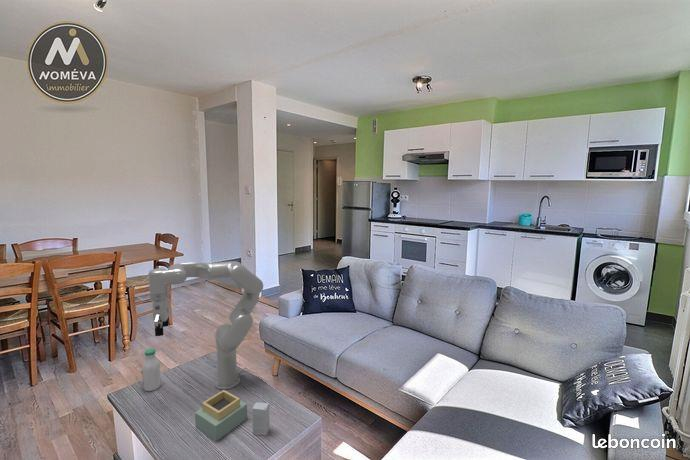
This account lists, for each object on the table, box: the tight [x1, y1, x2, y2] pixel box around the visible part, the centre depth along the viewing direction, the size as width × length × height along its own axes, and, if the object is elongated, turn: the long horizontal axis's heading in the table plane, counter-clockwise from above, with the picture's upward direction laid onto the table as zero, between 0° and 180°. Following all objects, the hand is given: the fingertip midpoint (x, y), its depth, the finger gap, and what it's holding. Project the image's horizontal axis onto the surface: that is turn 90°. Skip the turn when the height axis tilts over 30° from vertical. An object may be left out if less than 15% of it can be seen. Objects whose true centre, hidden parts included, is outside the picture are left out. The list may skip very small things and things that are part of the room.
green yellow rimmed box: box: [194, 389, 248, 442], centre depth 142 cm, size 16×14×10 cm
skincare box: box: [251, 402, 270, 436], centre depth 137 cm, size 6×4×12 cm
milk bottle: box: [141, 348, 162, 392], centre depth 164 cm, size 8×8×20 cm
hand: (162, 330), depth 151 cm, fingers open, 9 cm apart
